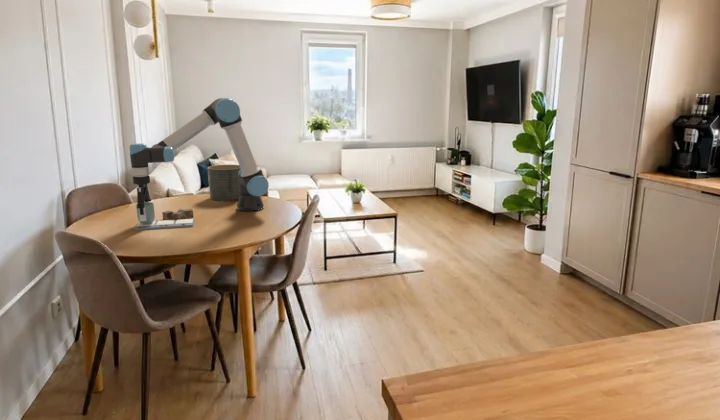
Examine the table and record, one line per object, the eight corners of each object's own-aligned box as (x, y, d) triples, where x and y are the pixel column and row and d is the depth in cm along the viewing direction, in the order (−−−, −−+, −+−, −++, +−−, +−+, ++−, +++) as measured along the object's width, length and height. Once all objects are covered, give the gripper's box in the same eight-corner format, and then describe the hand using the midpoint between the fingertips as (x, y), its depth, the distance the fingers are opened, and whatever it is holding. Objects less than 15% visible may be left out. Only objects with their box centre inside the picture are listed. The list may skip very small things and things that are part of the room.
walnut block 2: (183, 219, 240) (182, 212, 239) (179, 221, 237) (179, 214, 236) (176, 219, 241) (175, 212, 240) (172, 221, 237) (171, 213, 236)
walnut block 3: (192, 215, 248) (191, 208, 247) (193, 217, 245) (192, 210, 244) (184, 216, 246) (183, 209, 245) (185, 218, 243) (185, 211, 242)
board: (194, 220, 238) (194, 218, 238) (192, 226, 227) (192, 224, 226) (138, 224, 231) (138, 221, 231) (133, 230, 220) (133, 228, 219)
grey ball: (186, 214, 251) (185, 207, 250) (185, 216, 247) (184, 209, 246) (178, 214, 250) (177, 207, 249) (177, 216, 246) (176, 209, 245)
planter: (248, 194, 305) (246, 164, 300) (241, 201, 284) (239, 169, 279) (214, 194, 304) (212, 164, 299) (205, 201, 282) (203, 169, 278)
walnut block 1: (169, 217, 244) (169, 210, 243) (174, 218, 242) (173, 211, 241) (163, 219, 241) (162, 212, 240) (167, 220, 238) (166, 213, 237)
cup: (148, 225, 223) (146, 206, 221) (134, 225, 225) (132, 205, 222) (158, 221, 231) (156, 202, 228) (145, 220, 232) (143, 201, 230)
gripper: (137, 172, 233) (141, 212, 238) (127, 180, 209) (132, 224, 214) (153, 171, 235) (157, 211, 240) (144, 179, 211) (149, 223, 216)
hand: (145, 217), depth 227 cm, fingers open, 13 cm apart
